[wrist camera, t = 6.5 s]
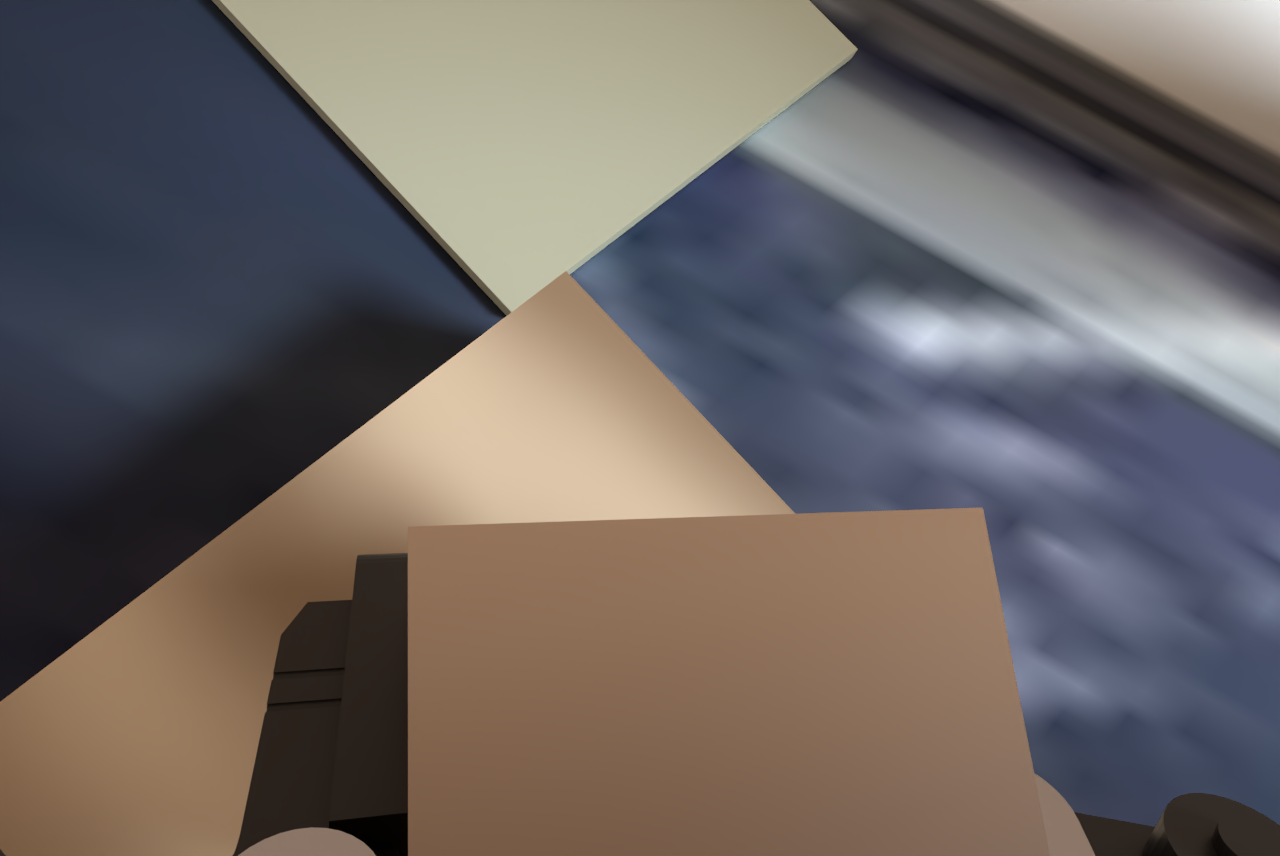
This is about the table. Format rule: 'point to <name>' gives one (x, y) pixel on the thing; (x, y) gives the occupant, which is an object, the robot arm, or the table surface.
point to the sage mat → (541, 108)
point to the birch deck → (344, 572)
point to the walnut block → (715, 689)
